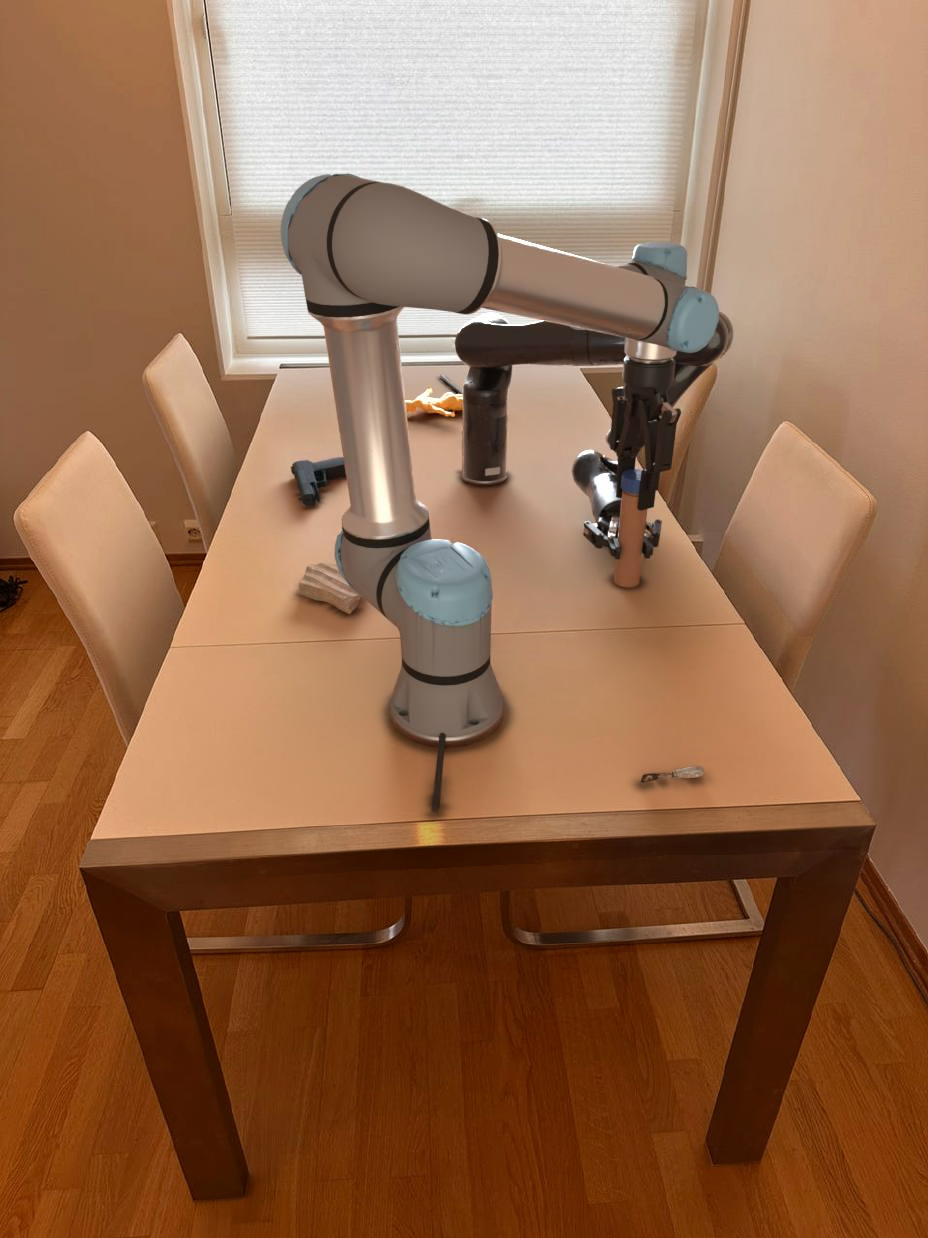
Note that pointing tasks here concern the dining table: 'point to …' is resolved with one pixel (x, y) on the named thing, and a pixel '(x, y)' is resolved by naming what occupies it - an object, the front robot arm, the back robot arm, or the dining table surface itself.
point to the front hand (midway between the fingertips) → (634, 501)
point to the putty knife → (674, 774)
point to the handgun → (316, 477)
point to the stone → (328, 587)
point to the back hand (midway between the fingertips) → (633, 553)
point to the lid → (631, 481)
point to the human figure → (436, 403)
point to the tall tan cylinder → (630, 541)
